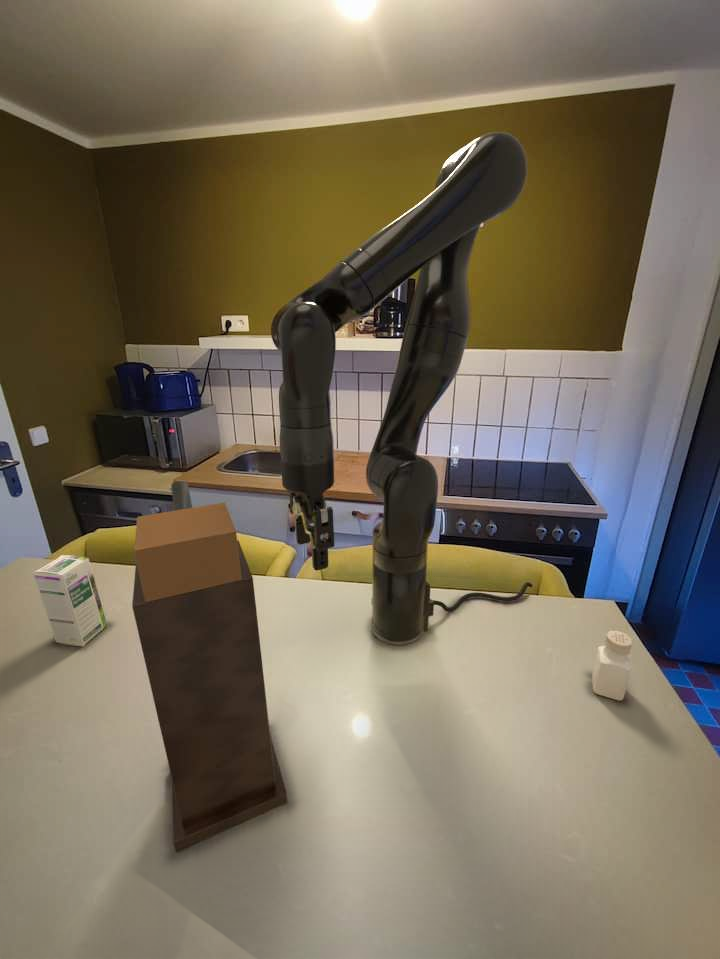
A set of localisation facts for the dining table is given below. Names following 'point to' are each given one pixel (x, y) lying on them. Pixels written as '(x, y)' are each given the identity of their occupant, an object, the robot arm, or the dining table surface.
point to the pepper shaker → (612, 666)
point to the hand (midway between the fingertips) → (311, 554)
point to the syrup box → (71, 599)
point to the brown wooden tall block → (210, 705)
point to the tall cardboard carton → (186, 548)
